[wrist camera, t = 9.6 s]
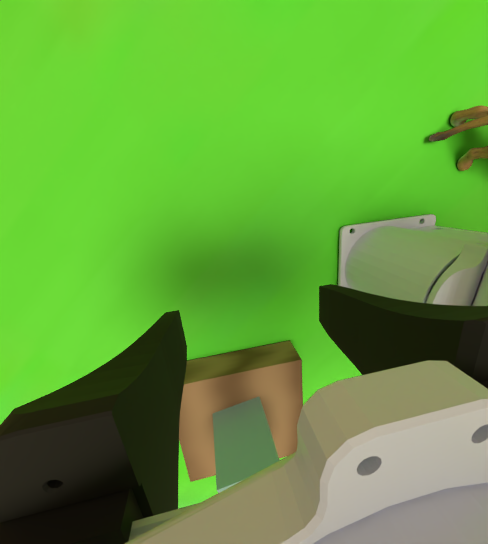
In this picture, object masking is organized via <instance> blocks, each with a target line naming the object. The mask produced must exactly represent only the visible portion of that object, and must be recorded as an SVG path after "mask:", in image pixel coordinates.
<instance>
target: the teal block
mask: <svg viewBox="0 0 488 544" xmlns="http://www.w3.org/2000/svg"><path fill="white" fill-rule="evenodd" d="M213 431H214V449H215V466H216V483H217V491H218V493H220V492H222V491H224V490H226V489H227V488H229V487H231V486H233V485H235V484H237V483H239V482H240V481H242V480H244V479H246V478H248V477H250V476H252V475H254V474H255V473H257V472H259V471H261V470H263V469H265V468H267V467H268V466H270V465H272V464H274V463H276V462H278V461H280V460H279V457H278V453H277V450H276V447H275V443H274V440H273V437H272V433H271V430H270V427H269V424H268V421H267V418H266V415H265V412H264V409H263V406H262V403H261V400H260V397H256V398H253V399H251V400H248V401H245V402H243V403H240V404H237V405H234V406H232V407H229V408H226V409H224V410H221V411H218V412H215V413H213Z"/></svg>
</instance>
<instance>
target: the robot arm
mask: <svg viewBox="0 0 488 544" xmlns="http://www.w3.org/2000/svg"><path fill="white" fill-rule="evenodd" d="M420 220H421V222H420ZM435 222H436V217H435V215H432V214H427V215H420V216H412V217H405V218H398V219H390V220H383V221H376V222H368V223H361V224H354V225H347V226H343V227H342V228H341V229H340V238H339V272H338V285H331V284H330V285H324V286H319V321H320V323H321V324H322V326H323V328H324V329H325V331H326V332H327V334H328V335H329V337H330V338H331V339H332V340H333V341H334V342H335V344H336V345H337V346H338V347H339V348H340V349H341V351H342V352H343V353H344V354H345V355H346V356H347V357H348V358H349V360H350V361H351V362H352V363H353V364H354V365H355V366H356V368H357V369H358V370H359V371H360V372H361V374H362V375H361V376H357V377H352V378H348V379H344V380H339V381H336V382H334V383H331V384H329V385H327V386H325V387H323V388H320V389H318V390H317V391H316V392H315V393H314V394H313V395H312V396H311V397H310V399H309V400H308V401H307V402H306V403H305V404H304V405H303V407H302V409H301V413H300V416H299V420H298V423H297V439H298V444H297V451H296V452H295V453H293V454H291V455H289V456H287V457H285V458H283V459H282V460H280V461H278V462H276V463H274V464H272V465H270V466H268V467H267V468H265V469H263V470H261V471H259V472H257V473H255V474H254V475H252V476H250V477H248V478H246V479H244V480H242V481H240V482H239V483H237V484H235V485H233V486H231V487H229V488H227V489H226V490H224V491H222V492H220V493H218V494H216V495H214V496H212V497H211V498H209V499H207V500H205V501H203V502H201V503H197V504H194V505H190V506H187V507H183V508H179V509H178V455H179V422H180V409H181V401H182V394H183V387H184V380H185V373H186V365H187V345H186V341H185V336H184V331H183V327H182V322H181V317H180V313H179V310H178V311H172V312H166V313H165V314H164V315H163V316H162V317H161V318H160V319H159V320H158V321H157V322H156V323H155V324H154V325H153V326H151V327H150V328H149V329H148V330H147V331H146V332H145V333H144V334H143V335H142V336H141V337H140V338H139V339H137V340H136V341H135V342H134V343H133V344H132V345H131V346H129V347H128V348H127V349H125V350H124V351H123V352H122V353H120V354H119V355H117V356H116V357H115V358H113V359H112V360H110V361H109V362H107V363H105V364H104V365H102V366H101V367H99V368H97V369H96V370H94V371H92V372H91V373H89V374H87V375H86V376H84V377H82V378H80V379H78V380H76V381H75V382H73V383H71V384H69V385H67V386H65V387H63V388H61V389H59V390H56V391H54V392H52V393H50V394H48V395H45V396H43V397H41V398H39V399H36V400H34V401H32V402H29V403H27V404H25V405H22V406H20V407H18V408H15V409H14V410H13V411H12V412H11V413H10V414H9V416H8V417H7V418H6V419H5V420H4V421H3V423H2V424H1V425H0V544H488V233H485V232H477V231H470V230H463V229H456V228H449V227H441V226H435ZM350 229H352V232H351V233H350Z"/></svg>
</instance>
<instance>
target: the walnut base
mask: <svg viewBox="0 0 488 544" xmlns="http://www.w3.org/2000/svg"><path fill="white" fill-rule="evenodd" d="M256 397H260V400H261V403H262V406H263V409H264V412H265V415H266V418H267V421H268V424H269V427H270V430H271V433H272V437H273V440H274V443H275V447H276V450H277V453H278V457H279V458H282V457H286V456H289V455H291V454H293V453H295V452H296V451H297V444H298V439H297V423H298V420H299V416H300V413H301V409H302V407H303V395H302V360H301V358H300V356H299V355H298V353H297V351H296V350H295V348H294V346H293V345H292V343H291V342H290V340H289V341H284V342H279V343H274V344H269V345H264V346H259V347H254V348H249V349H244V350H239V351H234V352H229V353H224V354H219V355H214V356H209V357H204V358H199V359H194V360H189V361H187V365H186V373H185V380H184V387H183V394H182V401H181V409H180V422H179V441H180V444H181V448H182V452H183V455H184V459H185V463H186V467H187V470H188V474H189V478H190V481H195V480H199V479H203V478H207V477H210V476H214V475H216V466H215V449H214V431H213V413H215V412H218V411H221V410H224V409H226V408H229V407H232V406H234V405H237V404H240V403H243V402H245V401H248V400H251V399H253V398H256Z"/></svg>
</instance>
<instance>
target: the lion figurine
mask: <svg viewBox="0 0 488 544" xmlns="http://www.w3.org/2000/svg"><path fill="white" fill-rule="evenodd" d="M467 119H475V120H472V121H469V122H467V123H465V122H466V120H467ZM450 122H451V124H452V126H454V128H452V129H450V130H448V131H445V132H437V133H436V134H433V135H431V136H430V137H429V141H440V140H445V139H447V138H448V137H450V136H452V135H455V134H457V133H459V132H462V131H465V130H468V129H471V128H476V127H480V126H484V125H488V107H486V106H476V107H473V108H470V109H467V110H462V111H456V112H454V113H453V115H452V117H451V121H450ZM479 158H488V146H486V147H482V148H471V149H470V150H469V151H468V152H467V153H466V154H465V155H463V156H462V157H461V158H460V159H459V161H458V163H457V167H458V169H459V170H460V171H464V170H467V169H469V168H470V166H471V165H472V163H473V160H474V159H479Z"/></svg>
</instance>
